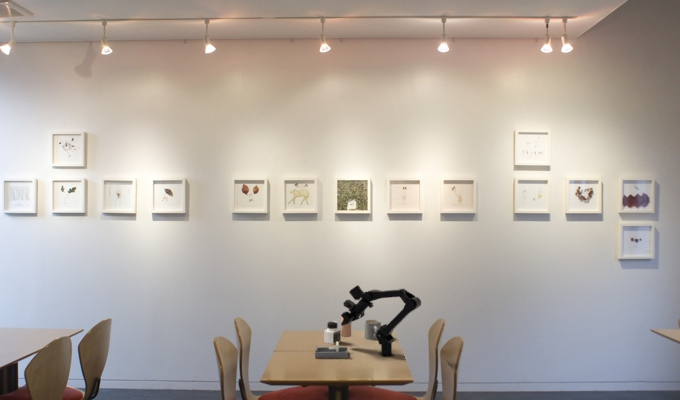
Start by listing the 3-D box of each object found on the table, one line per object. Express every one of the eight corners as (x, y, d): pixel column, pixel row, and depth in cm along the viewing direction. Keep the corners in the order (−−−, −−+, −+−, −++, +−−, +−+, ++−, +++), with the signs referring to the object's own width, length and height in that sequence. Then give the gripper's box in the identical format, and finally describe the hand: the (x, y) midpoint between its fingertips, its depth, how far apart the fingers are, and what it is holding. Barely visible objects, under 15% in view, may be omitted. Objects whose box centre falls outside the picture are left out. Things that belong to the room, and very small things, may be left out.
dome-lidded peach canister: (353, 336, 268) (352, 313, 268) (343, 337, 266) (343, 314, 266) (348, 334, 273) (348, 311, 273) (339, 335, 271) (339, 312, 271)
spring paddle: (338, 351, 259) (338, 341, 259) (338, 355, 252) (338, 345, 252) (328, 351, 259) (328, 341, 259) (328, 355, 252) (328, 345, 252)
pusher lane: (347, 352, 260) (347, 345, 261) (348, 357, 251) (348, 350, 251) (315, 352, 260) (315, 345, 260) (315, 358, 250) (315, 350, 250)
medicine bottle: (333, 344, 276) (333, 324, 276) (324, 342, 280) (324, 322, 280) (340, 341, 281) (340, 321, 282) (331, 339, 286) (331, 320, 286)
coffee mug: (364, 335, 295) (364, 319, 295) (380, 335, 295) (379, 319, 295) (365, 341, 282) (365, 324, 282) (382, 341, 282) (382, 324, 282)
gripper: (359, 293, 276) (343, 310, 281) (343, 298, 260) (327, 316, 265) (371, 307, 272) (355, 324, 277) (356, 314, 256) (339, 331, 261)
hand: (344, 323), depth 270 cm, fingers closed on dome-lidded peach canister, 6 cm apart
